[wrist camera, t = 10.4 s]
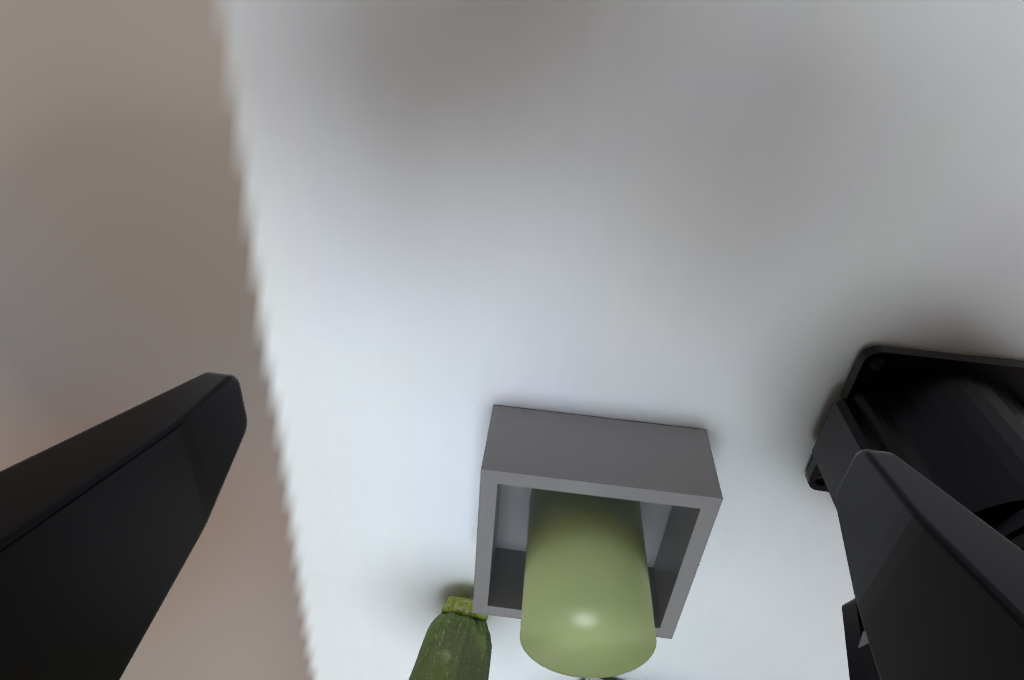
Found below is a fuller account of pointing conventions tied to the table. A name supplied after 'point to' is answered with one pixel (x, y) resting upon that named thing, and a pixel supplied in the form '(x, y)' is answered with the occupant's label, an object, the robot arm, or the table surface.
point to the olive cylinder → (586, 585)
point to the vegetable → (455, 644)
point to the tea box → (593, 679)
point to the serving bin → (598, 472)
